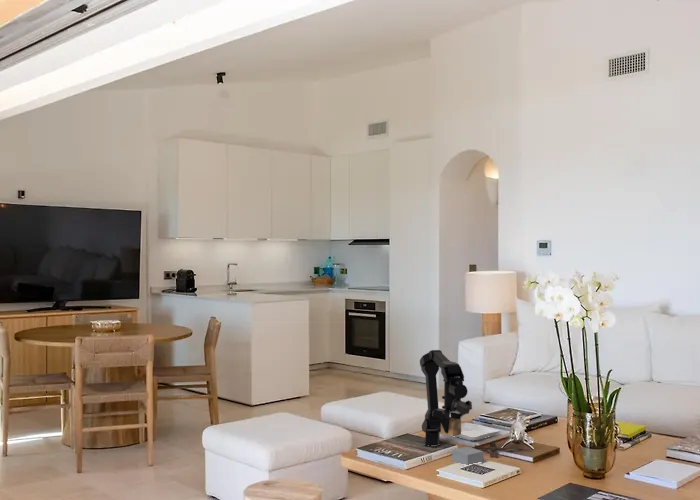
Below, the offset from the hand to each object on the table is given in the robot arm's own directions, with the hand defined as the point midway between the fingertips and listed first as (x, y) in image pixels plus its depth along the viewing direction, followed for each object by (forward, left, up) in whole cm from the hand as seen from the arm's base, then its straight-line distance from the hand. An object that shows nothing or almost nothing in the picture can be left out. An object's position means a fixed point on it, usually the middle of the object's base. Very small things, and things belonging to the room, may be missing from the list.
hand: (451, 431), depth 295 cm
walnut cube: (0, 0, -1) cm, 1 cm away
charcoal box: (-1, +8, -12) cm, 14 cm away
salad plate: (-38, -14, -12) cm, 42 cm away
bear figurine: (-20, +9, -12) cm, 25 cm away
